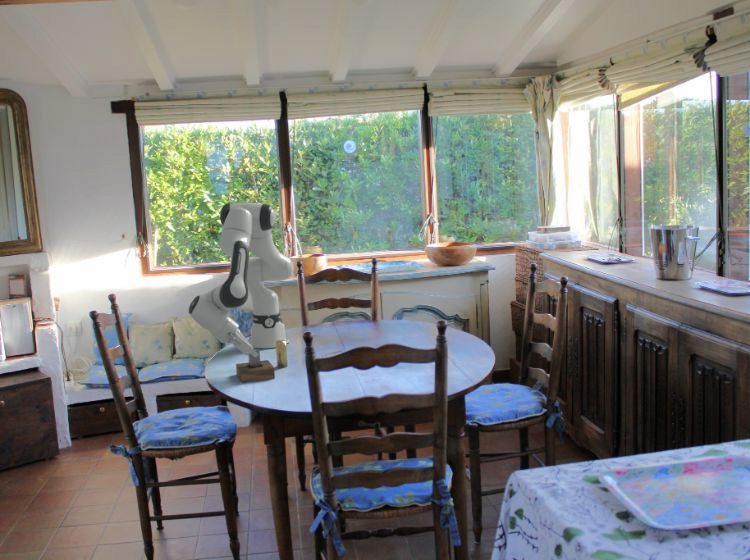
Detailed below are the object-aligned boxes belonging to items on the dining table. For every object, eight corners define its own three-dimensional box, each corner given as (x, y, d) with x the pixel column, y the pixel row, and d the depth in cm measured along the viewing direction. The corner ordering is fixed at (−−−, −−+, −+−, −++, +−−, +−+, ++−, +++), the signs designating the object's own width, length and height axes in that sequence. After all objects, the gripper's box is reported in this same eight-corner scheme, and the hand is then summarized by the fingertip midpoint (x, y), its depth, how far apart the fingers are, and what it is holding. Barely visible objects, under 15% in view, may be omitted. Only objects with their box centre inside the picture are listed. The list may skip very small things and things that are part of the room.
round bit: (276, 365, 280) (274, 340, 278) (286, 364, 281) (285, 339, 279) (278, 368, 276) (277, 342, 274) (288, 367, 277) (287, 341, 276)
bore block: (236, 374, 270) (236, 363, 269) (268, 370, 274) (267, 360, 273) (241, 382, 259) (241, 371, 258) (274, 378, 262) (274, 367, 262)
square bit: (249, 376, 267) (248, 349, 266) (259, 374, 268) (257, 348, 267) (251, 378, 264) (249, 351, 262) (261, 377, 265) (259, 350, 264)
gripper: (237, 329, 251) (266, 353, 256) (229, 319, 270) (256, 341, 275) (225, 343, 250) (255, 367, 255) (217, 332, 270) (245, 354, 274)
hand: (255, 354), depth 265 cm, fingers open, 4 cm apart
